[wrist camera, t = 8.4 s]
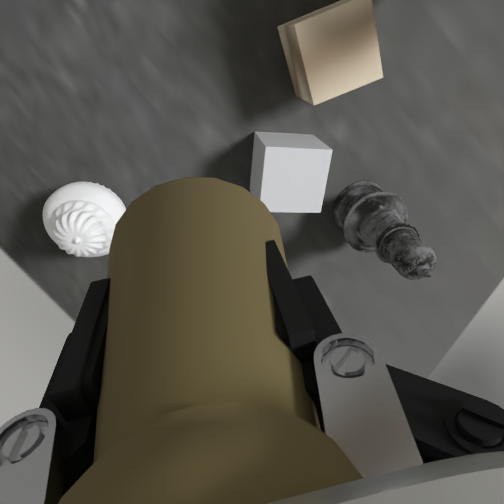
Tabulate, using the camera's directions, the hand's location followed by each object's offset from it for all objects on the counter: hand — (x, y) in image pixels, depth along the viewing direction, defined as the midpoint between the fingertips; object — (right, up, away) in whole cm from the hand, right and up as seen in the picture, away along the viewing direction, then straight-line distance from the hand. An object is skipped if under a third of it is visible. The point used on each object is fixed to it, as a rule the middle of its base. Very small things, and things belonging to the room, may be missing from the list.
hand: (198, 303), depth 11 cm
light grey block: (+4, +9, +21) cm, 24 cm away
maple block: (+7, +17, +17) cm, 25 cm away
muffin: (-12, +6, +21) cm, 24 cm away
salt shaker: (+12, +6, +25) cm, 28 cm away
